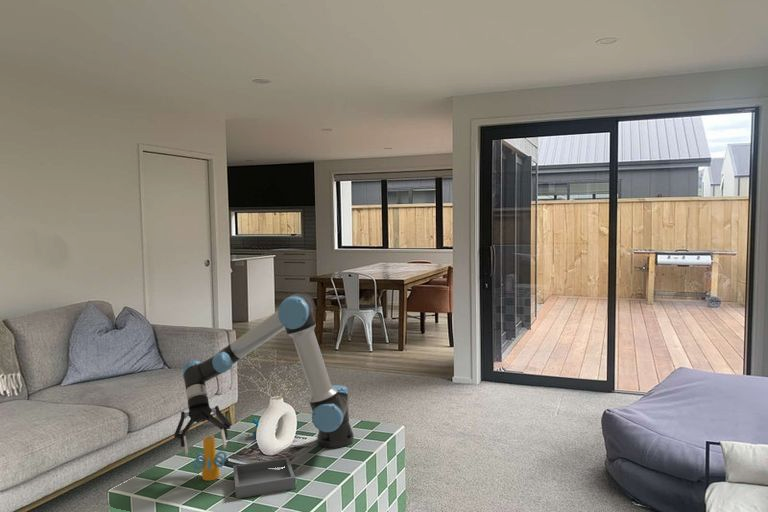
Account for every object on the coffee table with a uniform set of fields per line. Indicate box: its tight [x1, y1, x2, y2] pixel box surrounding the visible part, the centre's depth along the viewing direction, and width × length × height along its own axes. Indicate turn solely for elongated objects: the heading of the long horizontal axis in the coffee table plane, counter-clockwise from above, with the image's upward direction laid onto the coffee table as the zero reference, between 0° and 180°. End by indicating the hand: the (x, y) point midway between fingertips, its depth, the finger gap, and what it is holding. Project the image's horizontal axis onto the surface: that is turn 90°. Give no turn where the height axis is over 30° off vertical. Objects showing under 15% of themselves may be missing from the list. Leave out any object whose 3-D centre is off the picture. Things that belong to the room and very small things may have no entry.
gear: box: [252, 418, 260, 438], centre depth 252 cm, size 11×6×10 cm
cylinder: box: [192, 434, 227, 482], centre depth 213 cm, size 12×10×15 cm
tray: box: [232, 457, 297, 499], centre depth 208 cm, size 20×18×4 cm
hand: (206, 450), depth 213 cm, fingers open, 13 cm apart
